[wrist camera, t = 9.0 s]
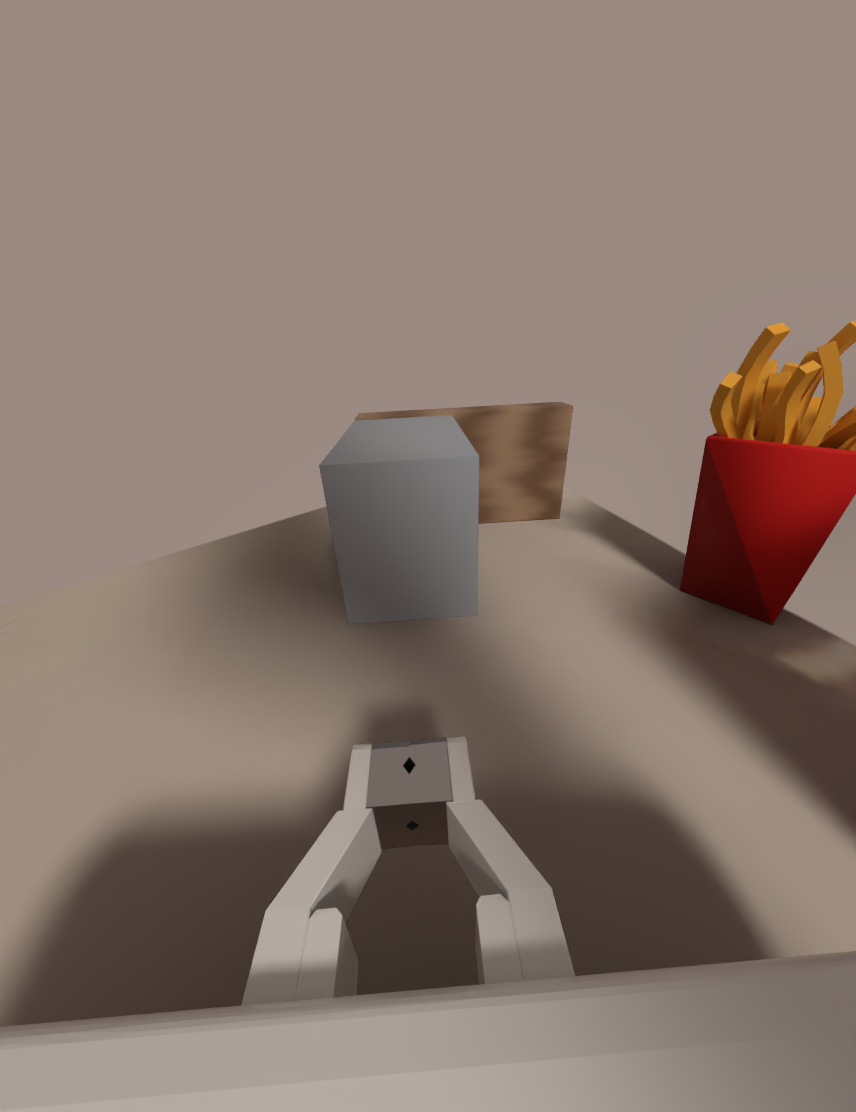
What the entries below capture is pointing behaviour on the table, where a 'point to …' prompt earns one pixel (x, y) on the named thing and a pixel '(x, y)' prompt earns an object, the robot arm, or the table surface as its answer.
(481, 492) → the walnut board
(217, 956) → the table surface
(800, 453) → the french fries
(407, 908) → the table surface
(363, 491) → the slate block
